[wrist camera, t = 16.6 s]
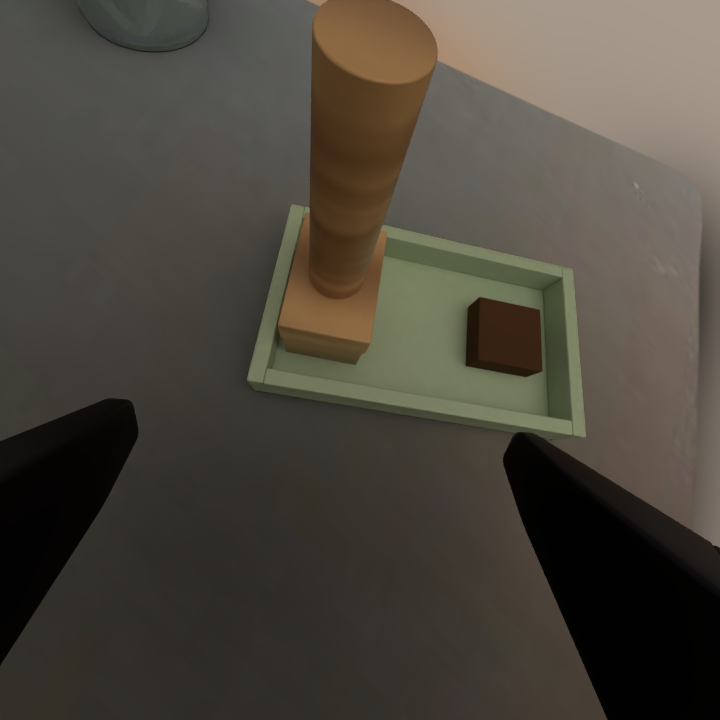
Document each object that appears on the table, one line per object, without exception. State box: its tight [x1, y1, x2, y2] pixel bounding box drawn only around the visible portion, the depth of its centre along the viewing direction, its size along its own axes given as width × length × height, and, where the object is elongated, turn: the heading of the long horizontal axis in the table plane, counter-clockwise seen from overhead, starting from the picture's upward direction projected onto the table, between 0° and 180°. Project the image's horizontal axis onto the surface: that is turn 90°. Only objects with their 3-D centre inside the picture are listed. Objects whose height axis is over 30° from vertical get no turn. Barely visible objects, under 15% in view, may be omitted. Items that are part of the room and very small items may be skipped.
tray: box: [247, 204, 586, 439], centre depth 19 cm, size 18×11×2 cm, turn 82°
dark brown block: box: [466, 297, 543, 377], centre depth 19 cm, size 4×4×2 cm
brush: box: [278, 0, 437, 365], centre depth 13 cm, size 6×4×13 cm
